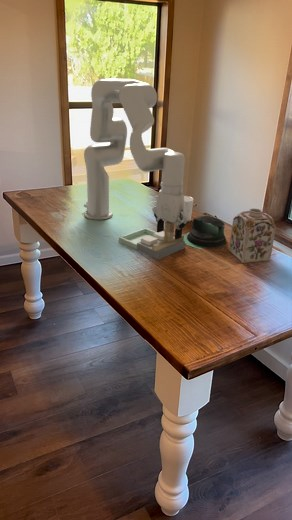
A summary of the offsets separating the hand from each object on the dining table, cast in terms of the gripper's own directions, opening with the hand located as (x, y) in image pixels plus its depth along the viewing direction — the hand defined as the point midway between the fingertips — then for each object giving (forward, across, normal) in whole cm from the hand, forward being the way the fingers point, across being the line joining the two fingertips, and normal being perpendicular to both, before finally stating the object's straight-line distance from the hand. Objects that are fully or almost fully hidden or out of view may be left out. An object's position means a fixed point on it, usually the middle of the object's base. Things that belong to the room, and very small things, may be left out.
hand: (169, 234), depth 156 cm
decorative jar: (+7, +22, +20) cm, 31 cm away
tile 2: (+4, -6, +4) cm, 8 cm away
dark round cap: (+8, +3, +21) cm, 22 cm away
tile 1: (+4, -6, -4) cm, 8 cm away
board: (+7, -4, 0) cm, 8 cm away
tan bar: (+4, 0, 0) cm, 4 cm away
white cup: (+7, -18, +32) cm, 37 cm away
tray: (+7, -14, 0) cm, 16 cm away
